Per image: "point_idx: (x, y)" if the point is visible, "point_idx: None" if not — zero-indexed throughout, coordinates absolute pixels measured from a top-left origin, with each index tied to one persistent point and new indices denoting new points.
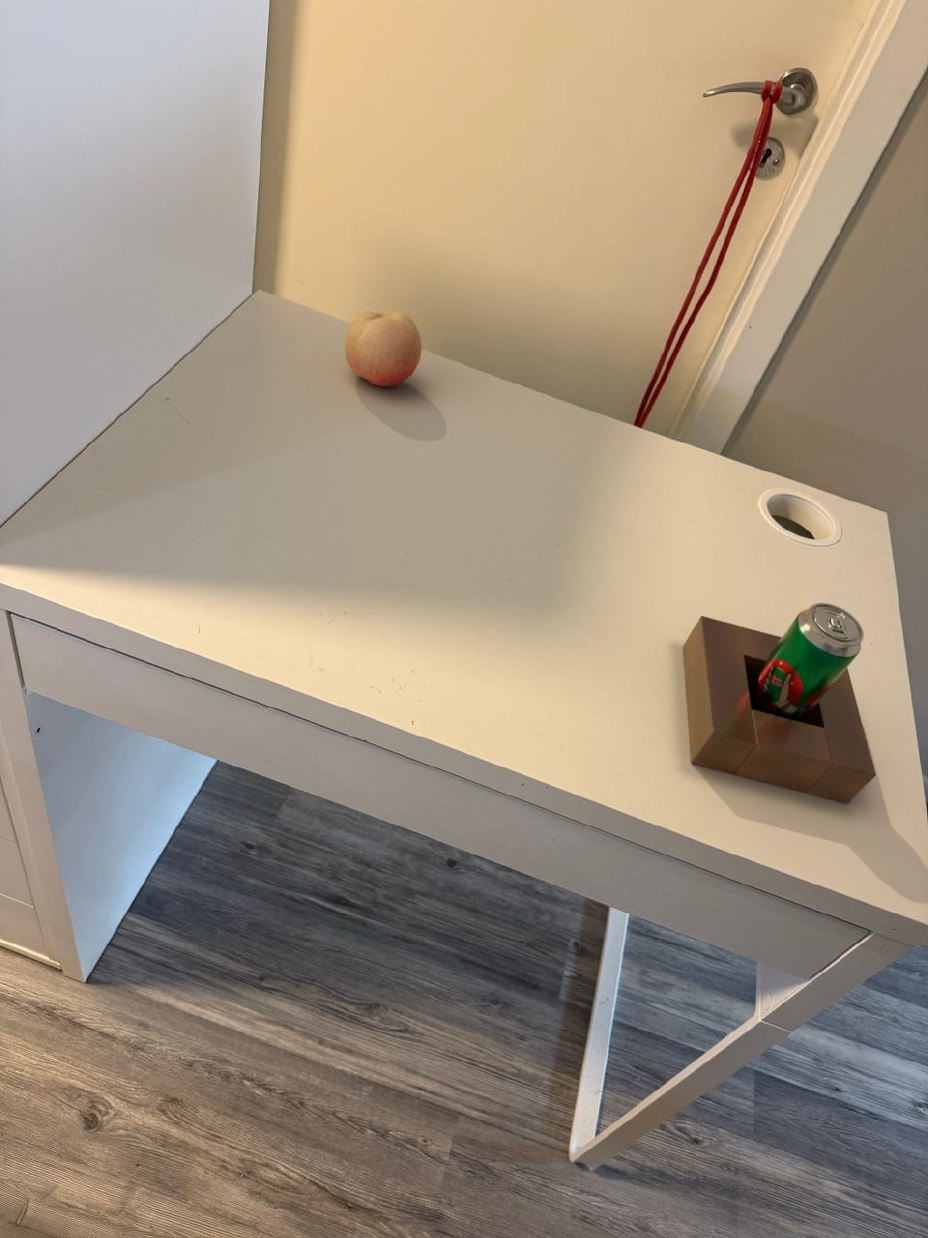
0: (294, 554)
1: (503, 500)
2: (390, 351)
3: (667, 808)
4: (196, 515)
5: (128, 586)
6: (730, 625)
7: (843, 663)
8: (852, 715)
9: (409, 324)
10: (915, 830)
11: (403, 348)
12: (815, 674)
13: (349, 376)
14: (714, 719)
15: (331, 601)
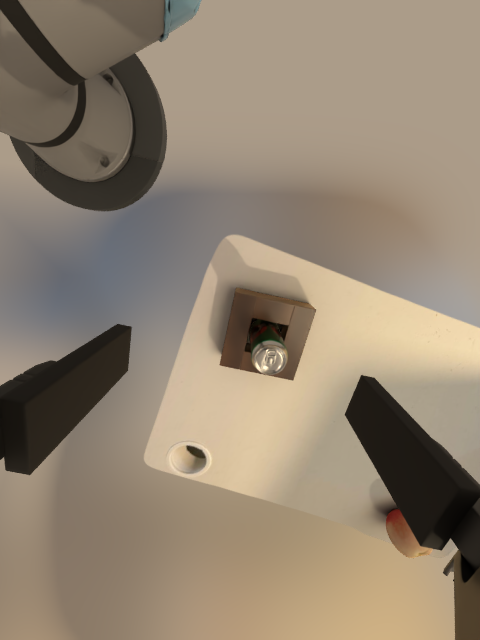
0: (466, 399)
1: (353, 446)
2: None
3: (330, 279)
4: None
5: None
6: (279, 376)
7: (265, 338)
8: (232, 327)
9: (409, 549)
10: (205, 275)
11: (408, 532)
12: (275, 335)
13: None
14: (312, 317)
15: (456, 375)
